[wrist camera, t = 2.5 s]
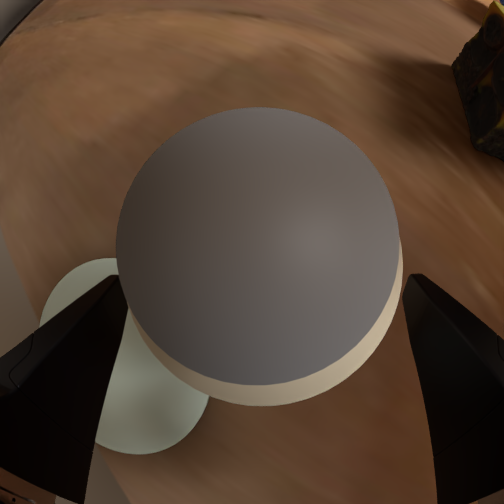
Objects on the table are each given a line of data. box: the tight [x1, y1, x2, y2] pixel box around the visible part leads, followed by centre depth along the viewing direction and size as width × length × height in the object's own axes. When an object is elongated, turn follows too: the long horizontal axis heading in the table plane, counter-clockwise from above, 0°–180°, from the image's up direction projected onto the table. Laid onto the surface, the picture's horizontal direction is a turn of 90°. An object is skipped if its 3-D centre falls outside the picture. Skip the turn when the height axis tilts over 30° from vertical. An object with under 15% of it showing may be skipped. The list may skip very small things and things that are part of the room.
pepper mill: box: [116, 107, 403, 406], centre depth 10 cm, size 6×6×14 cm
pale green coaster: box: [39, 258, 210, 454], centre depth 17 cm, size 13×13×1 cm
